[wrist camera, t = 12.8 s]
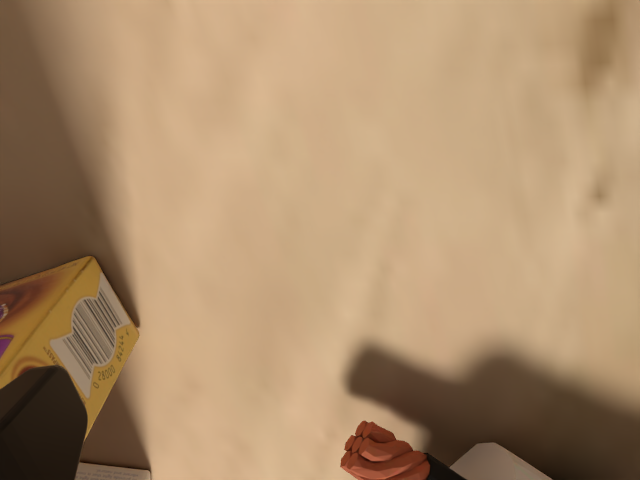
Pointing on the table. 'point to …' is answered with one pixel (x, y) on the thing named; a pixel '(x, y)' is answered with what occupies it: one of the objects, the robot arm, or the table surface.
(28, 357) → the candy box
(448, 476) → the white black banded bottle
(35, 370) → the robot arm
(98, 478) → the cardboard box
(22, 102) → the table surface
